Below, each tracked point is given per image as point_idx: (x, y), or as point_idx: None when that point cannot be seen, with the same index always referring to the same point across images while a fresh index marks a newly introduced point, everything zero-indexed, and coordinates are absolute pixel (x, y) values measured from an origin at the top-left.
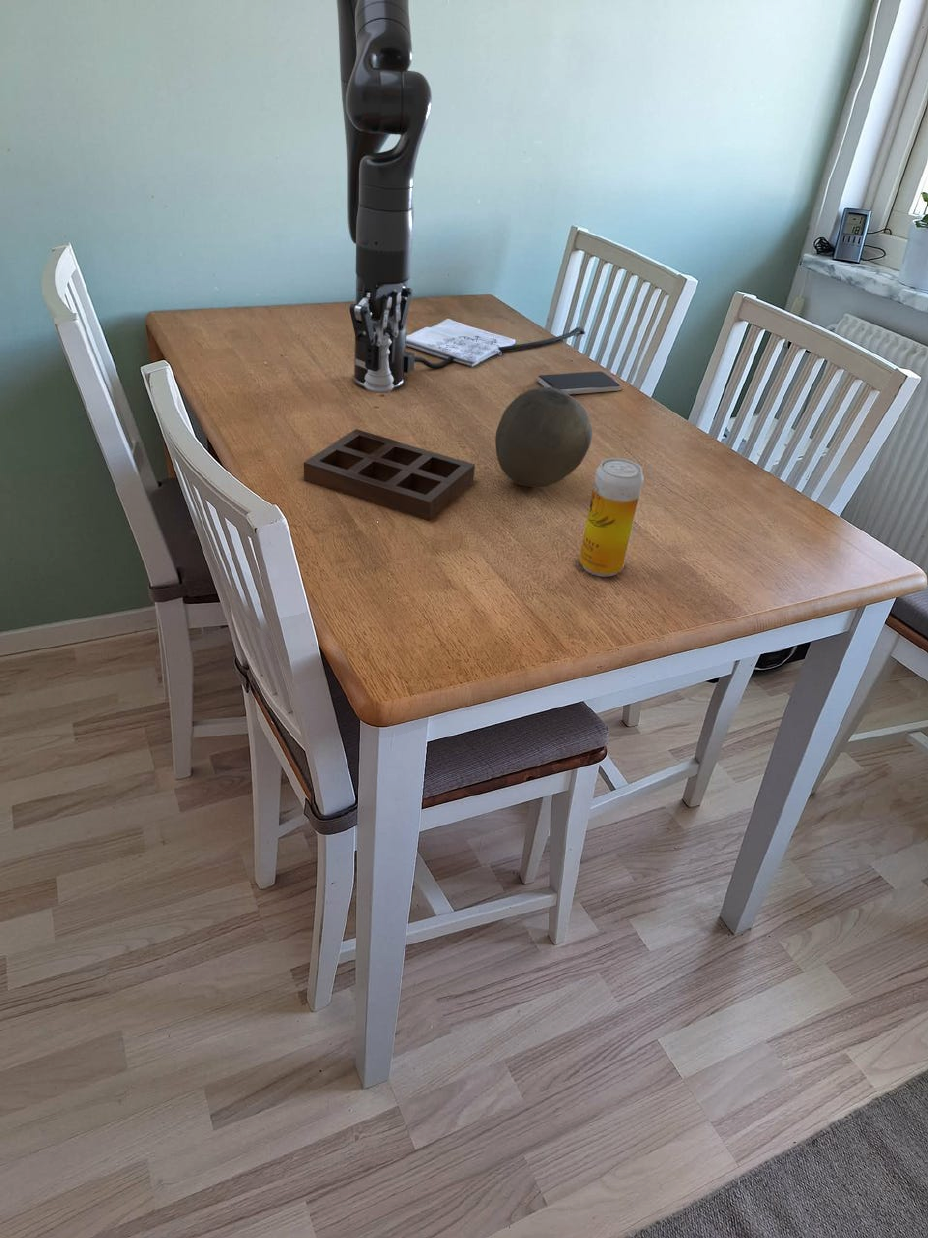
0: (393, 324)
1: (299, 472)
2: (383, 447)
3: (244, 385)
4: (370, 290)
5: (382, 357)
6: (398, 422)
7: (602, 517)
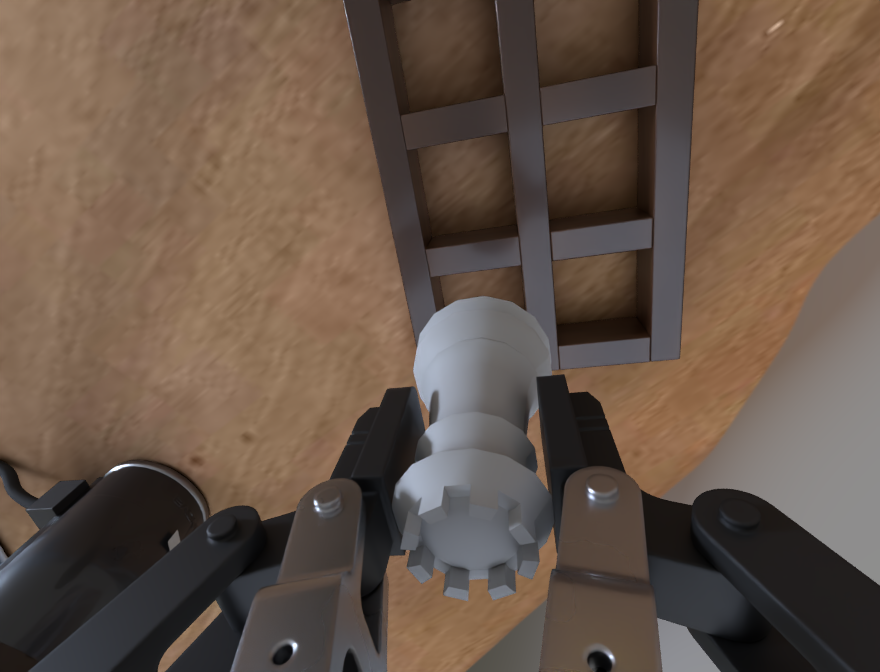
0: (354, 577)
1: (632, 366)
2: (459, 265)
3: (387, 632)
4: None
5: (507, 416)
6: (257, 364)
7: None
